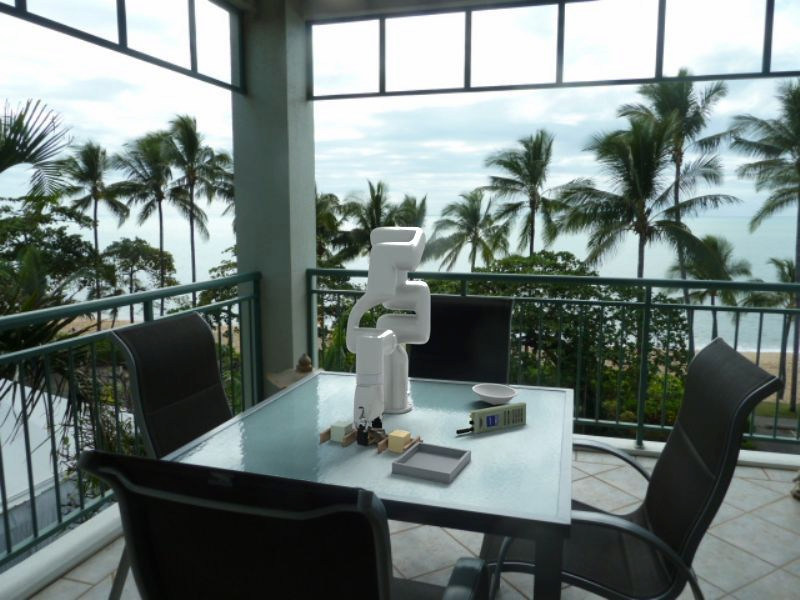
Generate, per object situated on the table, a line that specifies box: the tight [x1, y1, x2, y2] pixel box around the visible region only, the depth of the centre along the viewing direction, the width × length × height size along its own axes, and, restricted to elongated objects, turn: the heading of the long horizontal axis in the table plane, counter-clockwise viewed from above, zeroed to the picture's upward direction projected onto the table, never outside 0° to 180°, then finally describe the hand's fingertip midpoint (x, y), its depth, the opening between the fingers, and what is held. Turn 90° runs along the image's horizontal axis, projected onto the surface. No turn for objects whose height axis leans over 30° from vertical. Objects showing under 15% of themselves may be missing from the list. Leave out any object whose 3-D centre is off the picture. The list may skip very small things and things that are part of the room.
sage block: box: [330, 419, 353, 443], centre depth 168 cm, size 4×4×4 cm
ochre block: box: [387, 429, 412, 454], centre depth 160 cm, size 4×4×4 cm
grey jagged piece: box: [367, 425, 387, 446], centre depth 164 cm, size 8×6×7 cm
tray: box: [391, 441, 472, 485], centre depth 149 cm, size 16×15×2 cm
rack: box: [319, 426, 424, 454], centre depth 165 cm, size 12×26×2 cm, turn 65°
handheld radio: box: [455, 401, 527, 435], centre depth 177 cm, size 7×3×25 cm
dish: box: [471, 383, 519, 406], centre depth 201 cm, size 18×14×5 cm
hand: (370, 439), depth 164 cm, fingers closed on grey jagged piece, 7 cm apart
